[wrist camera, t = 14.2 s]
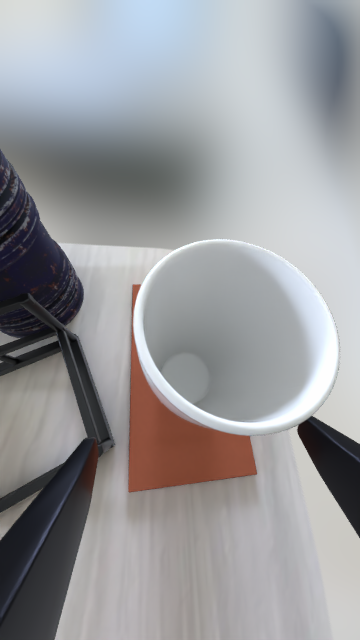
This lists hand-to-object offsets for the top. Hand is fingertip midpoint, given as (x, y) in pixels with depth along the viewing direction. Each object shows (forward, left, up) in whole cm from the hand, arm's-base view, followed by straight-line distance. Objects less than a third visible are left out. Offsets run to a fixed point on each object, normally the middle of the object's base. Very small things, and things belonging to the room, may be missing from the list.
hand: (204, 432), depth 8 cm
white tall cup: (+4, -1, -11) cm, 12 cm away
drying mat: (+5, -1, -11) cm, 13 cm away
